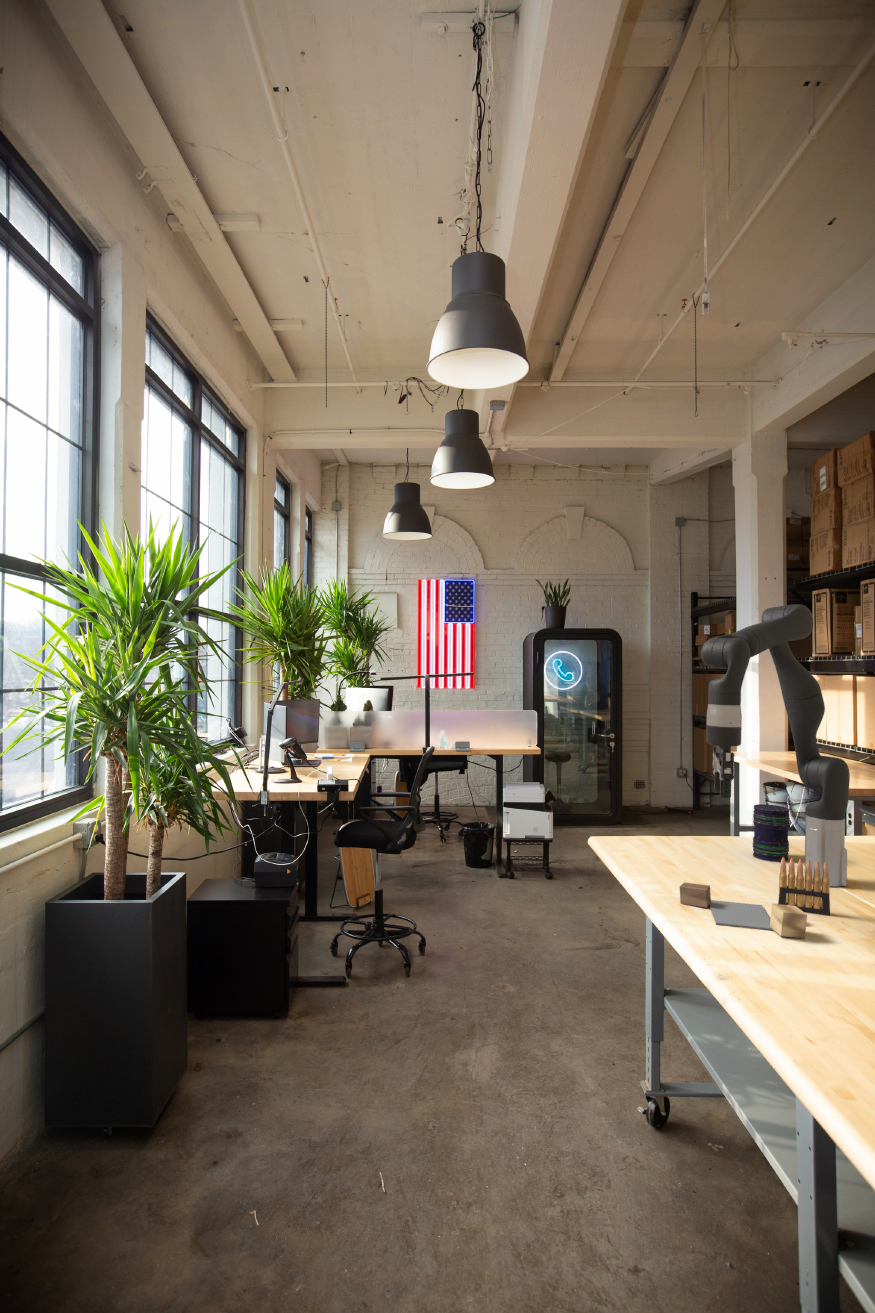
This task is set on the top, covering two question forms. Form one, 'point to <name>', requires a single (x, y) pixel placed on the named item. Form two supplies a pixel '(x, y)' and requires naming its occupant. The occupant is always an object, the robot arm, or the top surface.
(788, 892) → the ammunition clip
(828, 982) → the top surface
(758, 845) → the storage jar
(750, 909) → the pad
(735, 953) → the top surface
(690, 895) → the walnut block
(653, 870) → the top surface
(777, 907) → the oak block
